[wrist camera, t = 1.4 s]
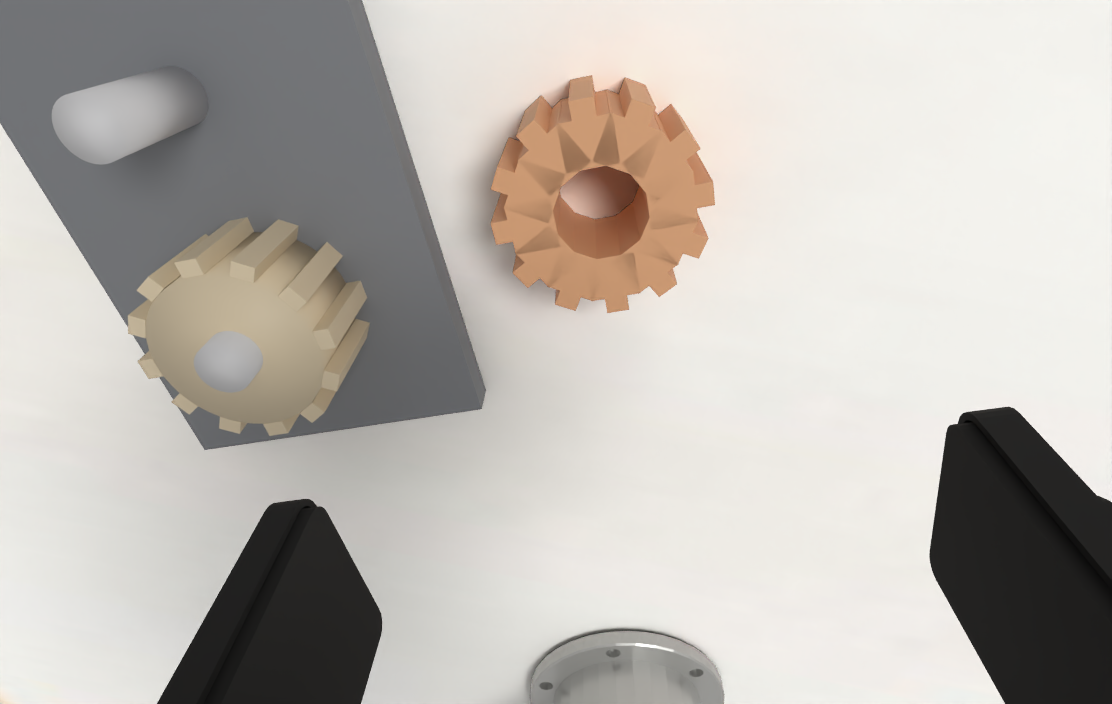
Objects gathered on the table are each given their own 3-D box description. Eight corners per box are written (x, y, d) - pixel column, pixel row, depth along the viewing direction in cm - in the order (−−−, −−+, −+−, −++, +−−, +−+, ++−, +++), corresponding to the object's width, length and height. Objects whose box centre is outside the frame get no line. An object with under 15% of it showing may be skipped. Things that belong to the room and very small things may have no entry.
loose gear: (704, 250, 27) (722, 294, 24) (526, 281, 28) (518, 327, 25) (686, 55, 23) (704, 73, 20) (480, 99, 24) (463, 123, 21)
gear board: (485, 390, 31) (464, 485, 26) (219, 430, 33) (146, 527, 27) (301, -191, 20) (192, -245, 14) (-86, -79, 22) (-313, -90, 16)
